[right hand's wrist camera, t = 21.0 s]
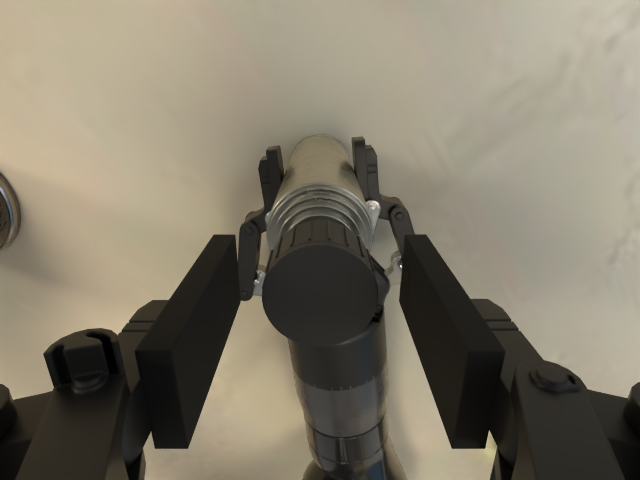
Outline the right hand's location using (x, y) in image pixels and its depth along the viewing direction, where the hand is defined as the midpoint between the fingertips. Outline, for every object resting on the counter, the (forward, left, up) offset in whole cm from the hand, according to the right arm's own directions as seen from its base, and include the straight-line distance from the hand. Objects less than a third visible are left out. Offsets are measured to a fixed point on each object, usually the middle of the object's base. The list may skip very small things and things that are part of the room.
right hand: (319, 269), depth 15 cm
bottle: (0, 0, -19) cm, 19 cm away
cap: (0, 0, +2) cm, 2 cm away
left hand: (-1, +2, -13) cm, 13 cm away
